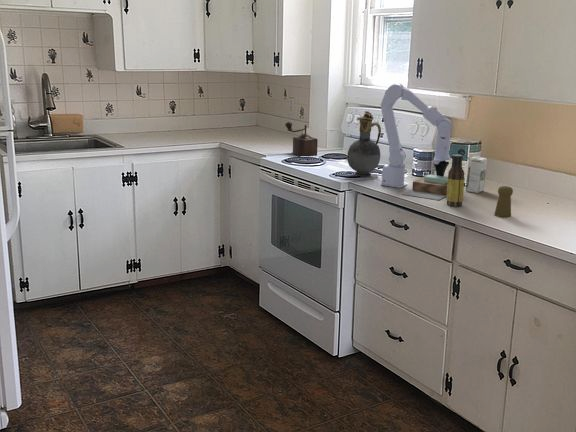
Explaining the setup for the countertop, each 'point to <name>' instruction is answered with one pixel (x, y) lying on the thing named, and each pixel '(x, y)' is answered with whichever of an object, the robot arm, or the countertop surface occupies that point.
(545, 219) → the countertop surface
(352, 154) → the pitcher
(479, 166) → the syrup box
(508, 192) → the cork
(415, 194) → the mat
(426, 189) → the deck
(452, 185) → the sauce bottle
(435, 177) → the pale teal block
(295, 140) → the manual coffee grinder
